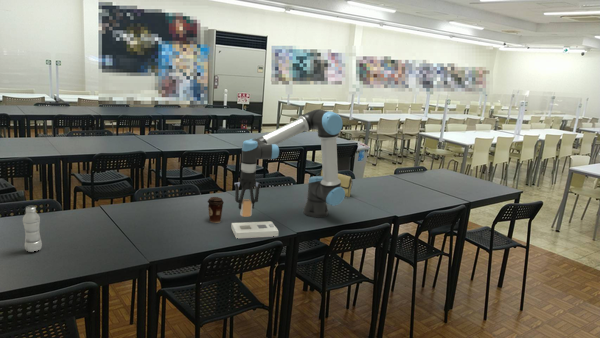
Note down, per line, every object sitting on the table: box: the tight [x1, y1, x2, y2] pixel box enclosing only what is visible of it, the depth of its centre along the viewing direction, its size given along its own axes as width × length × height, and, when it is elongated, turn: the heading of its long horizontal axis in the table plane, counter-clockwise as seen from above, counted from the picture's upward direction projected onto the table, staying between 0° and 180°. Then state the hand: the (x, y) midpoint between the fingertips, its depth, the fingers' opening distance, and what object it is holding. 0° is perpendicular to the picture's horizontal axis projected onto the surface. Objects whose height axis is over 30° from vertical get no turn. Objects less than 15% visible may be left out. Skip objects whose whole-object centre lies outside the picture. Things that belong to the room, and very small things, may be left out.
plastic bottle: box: [22, 205, 43, 253], centre depth 188 cm, size 6×7×20 cm
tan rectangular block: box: [242, 198, 251, 218], centre depth 226 cm, size 4×4×8 cm
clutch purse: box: [317, 168, 354, 198], centre depth 312 cm, size 30×7×15 cm, turn 49°
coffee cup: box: [207, 196, 224, 224], centre depth 241 cm, size 9×8×13 cm
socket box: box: [230, 221, 279, 239], centre depth 230 cm, size 22×14×4 cm, turn 109°
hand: (245, 214), depth 227 cm, fingers closed on tan rectangular block, 4 cm apart
